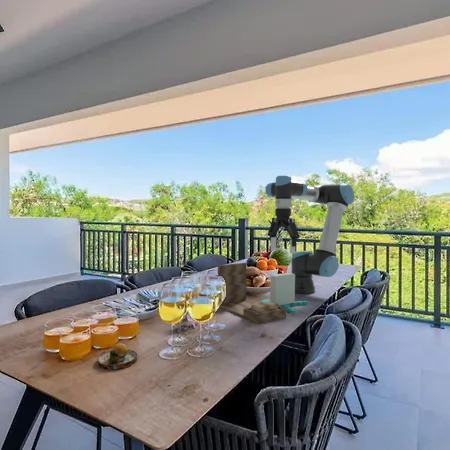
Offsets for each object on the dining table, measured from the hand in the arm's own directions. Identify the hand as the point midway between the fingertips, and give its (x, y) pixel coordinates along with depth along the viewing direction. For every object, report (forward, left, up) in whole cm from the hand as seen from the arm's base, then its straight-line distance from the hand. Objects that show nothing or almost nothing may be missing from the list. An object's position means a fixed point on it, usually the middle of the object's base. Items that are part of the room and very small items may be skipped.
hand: (282, 251), depth 169 cm
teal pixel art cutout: (0, 0, -27) cm, 27 cm away
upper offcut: (+19, +10, -23) cm, 32 cm away
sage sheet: (0, +1, -25) cm, 25 cm away
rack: (+19, 0, -26) cm, 33 cm away
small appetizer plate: (+85, +20, -27) cm, 91 cm away
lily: (+52, +2, -27) cm, 58 cm away
